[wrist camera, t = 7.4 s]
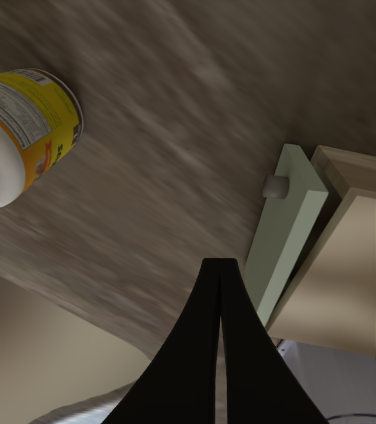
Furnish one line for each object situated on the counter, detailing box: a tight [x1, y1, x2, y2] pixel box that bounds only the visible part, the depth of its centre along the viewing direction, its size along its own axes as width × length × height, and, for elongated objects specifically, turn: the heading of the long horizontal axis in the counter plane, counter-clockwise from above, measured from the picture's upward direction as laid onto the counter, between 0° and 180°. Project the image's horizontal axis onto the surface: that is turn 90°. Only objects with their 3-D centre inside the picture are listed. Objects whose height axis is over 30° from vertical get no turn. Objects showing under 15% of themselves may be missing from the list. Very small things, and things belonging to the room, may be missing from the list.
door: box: [244, 143, 329, 327], centre depth 19 cm, size 12×2×6 cm, turn 175°
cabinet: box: [264, 145, 376, 357], centre depth 19 cm, size 13×11×6 cm
